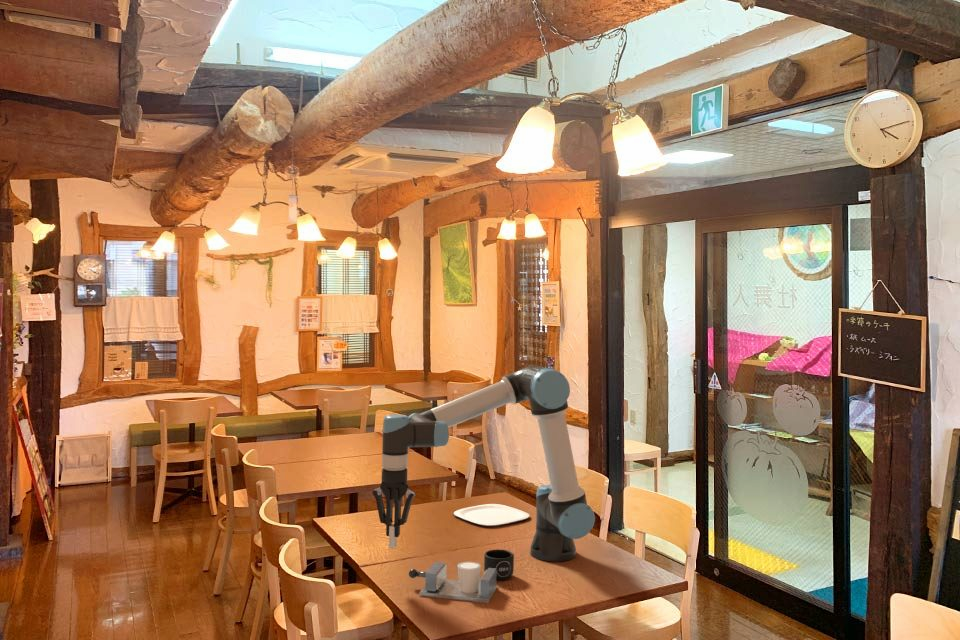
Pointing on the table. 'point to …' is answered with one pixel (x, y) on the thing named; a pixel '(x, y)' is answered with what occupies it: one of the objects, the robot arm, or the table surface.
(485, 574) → the vise
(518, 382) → the robot arm
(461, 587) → the white cylinder
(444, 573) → the jaw
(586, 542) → the table surface
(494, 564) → the mug
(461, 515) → the plate
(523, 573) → the table surface
